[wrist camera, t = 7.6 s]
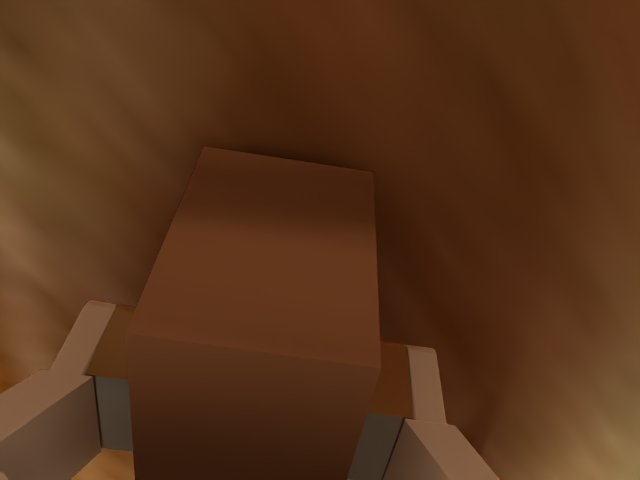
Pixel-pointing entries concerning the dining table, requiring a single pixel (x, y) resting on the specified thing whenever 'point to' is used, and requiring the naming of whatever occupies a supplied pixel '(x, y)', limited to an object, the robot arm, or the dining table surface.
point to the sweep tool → (258, 325)
